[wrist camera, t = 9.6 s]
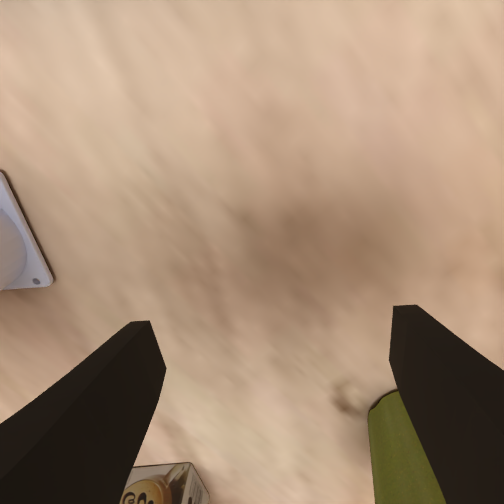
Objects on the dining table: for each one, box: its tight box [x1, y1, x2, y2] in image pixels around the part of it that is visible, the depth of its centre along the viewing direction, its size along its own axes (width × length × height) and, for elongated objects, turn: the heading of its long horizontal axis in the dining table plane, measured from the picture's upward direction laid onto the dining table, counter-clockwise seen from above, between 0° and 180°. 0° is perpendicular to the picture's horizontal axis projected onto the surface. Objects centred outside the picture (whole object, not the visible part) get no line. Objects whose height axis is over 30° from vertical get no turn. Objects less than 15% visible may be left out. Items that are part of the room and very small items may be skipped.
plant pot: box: [368, 391, 446, 504], centre depth 21 cm, size 12×12×11 cm
